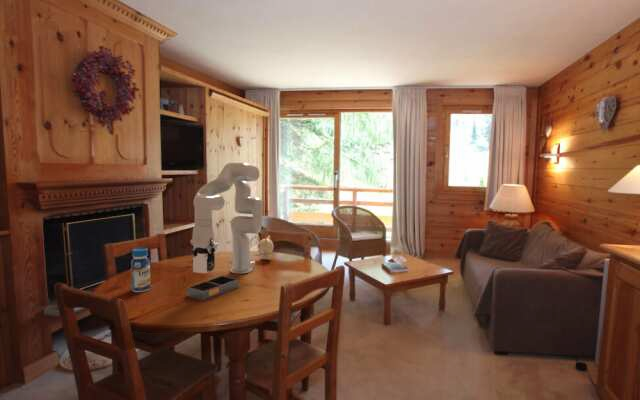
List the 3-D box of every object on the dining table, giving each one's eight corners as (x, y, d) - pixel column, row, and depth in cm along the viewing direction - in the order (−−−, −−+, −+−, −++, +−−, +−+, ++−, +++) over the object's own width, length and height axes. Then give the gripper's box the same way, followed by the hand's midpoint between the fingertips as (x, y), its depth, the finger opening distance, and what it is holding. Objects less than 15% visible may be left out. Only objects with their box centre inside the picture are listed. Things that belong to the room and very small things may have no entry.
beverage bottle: (141, 286, 183) (140, 246, 181) (154, 288, 180) (153, 248, 178) (127, 291, 175) (125, 250, 173) (141, 293, 172) (139, 251, 170)
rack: (222, 283, 188) (222, 275, 188) (238, 287, 182) (238, 279, 182) (186, 296, 169) (186, 287, 169) (204, 301, 163) (204, 292, 163)
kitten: (261, 256, 245) (261, 234, 243) (276, 256, 244) (276, 234, 242) (255, 262, 230) (255, 238, 229) (270, 262, 229) (270, 239, 228)
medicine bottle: (207, 273, 166) (206, 247, 165) (193, 272, 167) (192, 246, 166) (215, 269, 173) (214, 244, 172) (201, 268, 174) (200, 243, 173)
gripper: (184, 222, 169) (184, 259, 171) (210, 225, 160) (210, 264, 162) (197, 220, 176) (197, 255, 177) (223, 223, 167) (223, 260, 168)
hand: (203, 259), depth 169 cm, fingers closed on medicine bottle, 8 cm apart
